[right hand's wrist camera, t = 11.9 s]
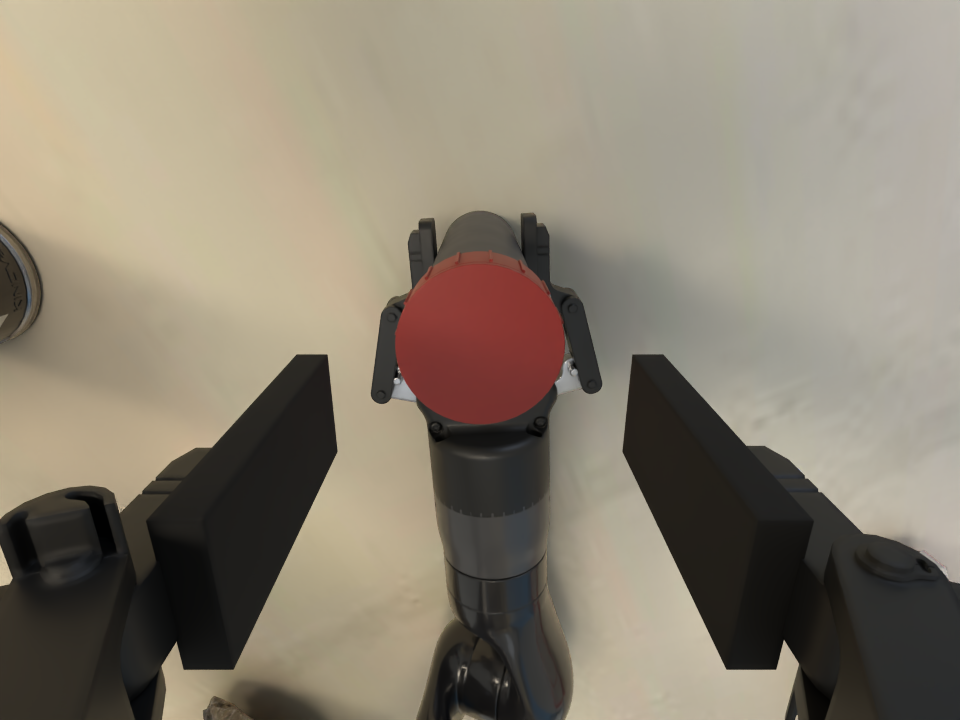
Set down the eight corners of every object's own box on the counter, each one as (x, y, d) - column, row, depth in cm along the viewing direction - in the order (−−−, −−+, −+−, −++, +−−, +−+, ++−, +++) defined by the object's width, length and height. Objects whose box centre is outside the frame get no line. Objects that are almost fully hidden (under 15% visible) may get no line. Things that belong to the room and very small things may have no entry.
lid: (580, 358, 21) (592, 384, 18) (447, 419, 21) (444, 450, 19) (516, 221, 19) (521, 231, 17) (375, 293, 20) (361, 311, 17)
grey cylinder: (528, 264, 37) (576, 374, 19) (464, 296, 38) (449, 431, 19) (496, 197, 35) (515, 245, 17) (430, 231, 36) (379, 312, 18)
